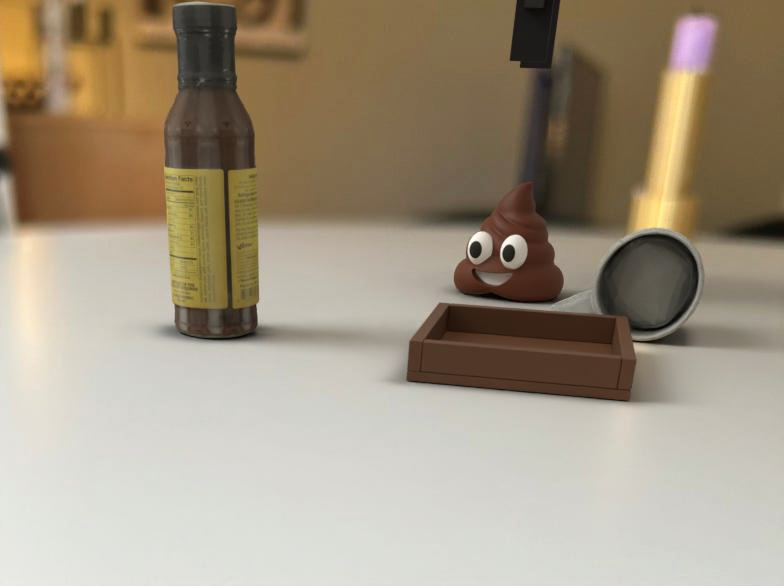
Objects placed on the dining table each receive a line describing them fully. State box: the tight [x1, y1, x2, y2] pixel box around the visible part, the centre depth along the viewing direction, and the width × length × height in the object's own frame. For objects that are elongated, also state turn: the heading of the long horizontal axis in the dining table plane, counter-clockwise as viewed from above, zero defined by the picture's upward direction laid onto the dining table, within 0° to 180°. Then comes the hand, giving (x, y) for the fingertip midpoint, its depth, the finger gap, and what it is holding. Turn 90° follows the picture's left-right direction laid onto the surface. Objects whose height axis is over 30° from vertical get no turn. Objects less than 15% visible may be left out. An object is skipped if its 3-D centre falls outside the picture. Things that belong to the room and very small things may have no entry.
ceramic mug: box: [550, 227, 706, 342], centre depth 75 cm, size 11×8×8 cm
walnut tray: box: [405, 302, 638, 401], centre depth 65 cm, size 13×14×2 cm
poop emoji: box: [453, 181, 565, 303], centre depth 88 cm, size 10×8×9 cm
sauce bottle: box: [163, 1, 260, 339], centre depth 67 cm, size 6×6×20 cm
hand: (531, 65), depth 82 cm, fingers open, 13 cm apart
